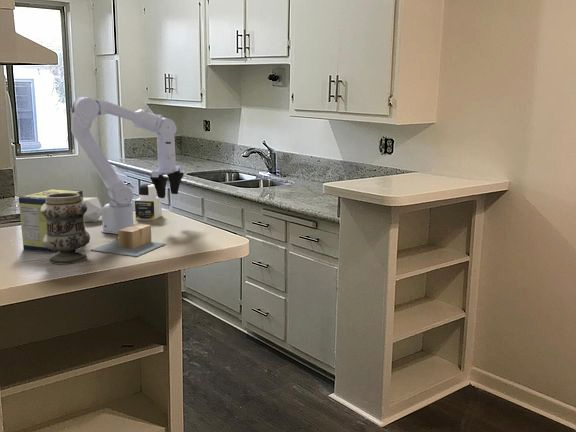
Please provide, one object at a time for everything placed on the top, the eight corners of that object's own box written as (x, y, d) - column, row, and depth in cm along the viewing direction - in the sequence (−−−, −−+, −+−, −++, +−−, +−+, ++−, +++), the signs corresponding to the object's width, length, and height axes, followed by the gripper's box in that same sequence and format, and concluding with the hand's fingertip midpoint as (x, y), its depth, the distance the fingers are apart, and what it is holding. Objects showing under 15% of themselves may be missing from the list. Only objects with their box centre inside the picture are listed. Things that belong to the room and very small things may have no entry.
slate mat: (90, 250, 171) (90, 249, 171) (121, 239, 184) (121, 238, 184) (136, 257, 165) (136, 255, 165) (165, 244, 178) (165, 243, 178)
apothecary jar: (84, 250, 171) (79, 189, 167) (97, 260, 161) (92, 195, 157) (40, 257, 165) (34, 193, 161) (50, 268, 155) (44, 200, 151)
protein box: (87, 240, 183) (83, 190, 179) (51, 253, 168) (47, 199, 165) (59, 237, 186) (54, 188, 183) (22, 250, 172) (17, 197, 168)
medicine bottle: (135, 219, 210) (133, 186, 207) (143, 215, 217) (141, 182, 214) (154, 220, 209) (153, 186, 206) (162, 216, 215) (160, 183, 213)
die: (88, 226, 202) (104, 202, 203) (66, 213, 202) (82, 188, 204) (95, 229, 210) (111, 206, 212) (74, 216, 211) (90, 193, 212)
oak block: (137, 239, 182) (118, 246, 174) (136, 223, 181) (117, 230, 173) (151, 241, 180) (133, 248, 172) (150, 225, 179) (132, 231, 171)
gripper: (164, 158, 187) (165, 200, 190) (188, 153, 200) (190, 193, 203) (145, 157, 189) (147, 198, 192) (171, 152, 202) (172, 191, 205)
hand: (168, 195), depth 198 cm, fingers open, 7 cm apart
